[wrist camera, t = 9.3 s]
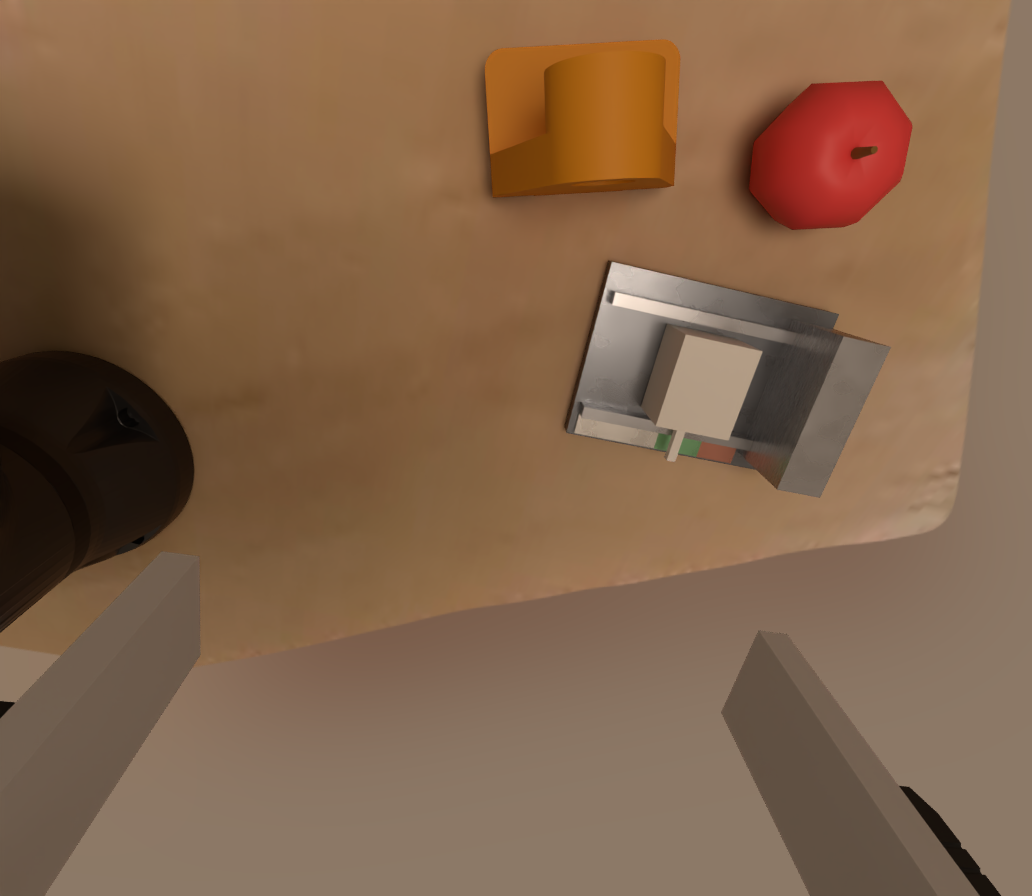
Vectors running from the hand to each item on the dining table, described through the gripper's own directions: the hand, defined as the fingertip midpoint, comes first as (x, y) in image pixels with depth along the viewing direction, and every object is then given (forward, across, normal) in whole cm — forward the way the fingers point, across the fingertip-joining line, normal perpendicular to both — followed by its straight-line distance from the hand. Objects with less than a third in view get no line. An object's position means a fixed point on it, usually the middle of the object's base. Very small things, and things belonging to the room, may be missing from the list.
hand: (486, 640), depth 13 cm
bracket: (+28, +3, +15) cm, 32 cm away
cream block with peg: (+26, +14, +1) cm, 30 cm away
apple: (+28, +17, +16) cm, 36 cm away
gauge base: (+28, +15, +2) cm, 31 cm away
